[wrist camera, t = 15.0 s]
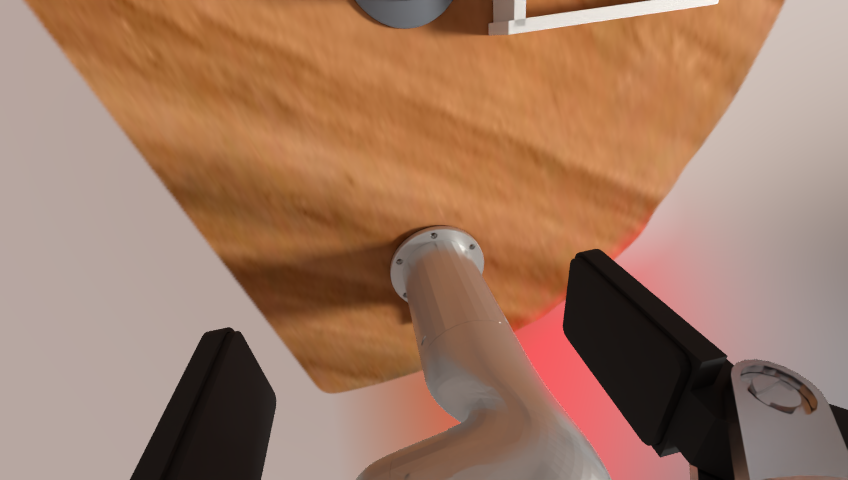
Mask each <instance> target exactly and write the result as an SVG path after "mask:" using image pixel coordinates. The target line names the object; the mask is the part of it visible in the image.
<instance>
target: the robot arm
mask: <svg viewBox="0 0 848 480" xmlns="http://www.w3.org/2000/svg"><path fill="white" fill-rule="evenodd" d="M432 233H434V234H432ZM483 269H484V258H483V253H482V251H481V248H480V246H479V245H478V243H477V242H476V240H475V239H474V238H473V237H472V236H471V235H469V234H468V233H466V232H465V231H463V230H461V229H458V228H455V227H450V226H435V227H429V228H426V229H423V230H420V231H418V232H416V233H415V234H413V235H411V236H410V237H408V238H407V239H406V240H405V241H404V242H403V243H402V244H401V245H400V246H399V247H398V249H397V250H396V252H395V253H394V255H393V258H392V261H391V266H390V276H391V281H392V285H393V287H394V289H395V291H396V292H397V294H398V295H399V296H400V297H401V298H402V299H403V300H405V301H406V302H408V304H409V309H410V313H411V318H412V322H413V327H414V332H415V336H416V341H417V345H418V350H419V354H420V359H421V364H422V368H423V372H424V377H425V381H426V384H427V387H428V389H429V391H430V393H431V395H432V396H433V398H434V399H435V400H436V402H437V403H438V404H439V405H440V406H441V407H442V408H443V409H444V410H445V411H446V412H447V413H448V414H450V415H451V416H452V417H454V418H455V419H457V420H458V421H459V422H461V424H458V425H456V426H454V427H452V428H450V429H448V430H447V431H444V432H442V433H440V434H437V435H435V436H432V437H430V438H428V439H425V440H422V441H420V442H418V443H415V444H413V445H410V446H408V447H405V448H403V449H400V450H398V451H396V452H394V453H392V454H389V455H387V456H385V457H383V458H381V459H379V460H377V461H375V462H374V463H372V464H371V465H369V466H368V467H367V468H365V470H364V471H363V472H362V473H361V474H360V475H359V476H358V477H357V479H356V480H611V477H610V475H609V473H608V471H607V469H606V468H605V466H604V464H603V462H602V460H601V459H600V457H599V455H598V453H597V452H596V451H595V449H594V448H593V447H592V445H591V443H590V442H589V441H588V440H587V438H586V436H585V435H584V434H583V432H582V431H581V430H580V429H579V427H578V426H577V425H576V424H575V422H574V421H573V420H572V419H571V417H570V416H569V415H568V414H567V412H566V411H565V410H564V409H563V407H562V406H561V405H560V404H559V402H558V401H557V400H556V399H555V397H554V396H553V395H552V393H551V392H550V390H549V389H548V387H547V386H546V385H545V383H544V382H543V380H542V379H541V377H540V376H539V374H538V373H537V371H536V370H535V368H534V367H533V365H532V363H531V362H530V360H529V358H528V357H527V355H526V353H525V351H524V350H523V348H522V346H521V344H520V343H519V341H518V339H517V337H516V335H515V334H514V332H513V330H512V328H511V326H510V325H509V323H508V321H507V319H506V317H505V316H504V314H503V312H502V310H501V309H500V307H499V305H498V303H497V302H496V300H495V298H494V296H493V294H492V293H491V291H490V289H489V287H488V285H487V284H486V282H485V280H484V278H483V277H482V272H483ZM563 330H564V333H565V335H566V337H567V339H568V340H569V341H570V343H571V344H572V346H573V347H574V348H575V350H576V351H577V353H578V354H579V355H580V357H581V358H582V360H583V361H584V362H585V364H586V365H587V366H588V368H589V369H590V371H591V372H592V373H593V375H594V376H595V377H596V379H597V380H598V381H599V383H600V384H601V386H602V387H603V388H604V390H605V391H606V393H607V394H608V395H609V396H610V398H611V399H612V401H613V402H614V403H615V405H616V406H617V408H618V409H619V410H620V412H621V413H622V415H623V416H624V417H625V419H626V420H627V421H628V423H629V424H630V425H631V427H632V428H633V430H634V431H635V432H636V434H637V435H638V436H639V438H640V439H641V440H642V442H644V443H645V444H646V445H648V446H650V445H651V446H652V447H653V449H654V450H655V451H656V453H657V454H658V455H659V456H660V457H663V456H667V455H671V454H674V453H678V452H681V453H682V455H683V456H684V457H685V458H686V460H687V461H688V462H689V465H690V480H848V410H846V409H844V408H840V407H837V406H834V405H831V404H828V402H827V400H826V399H825V397H824V396H823V394H822V392H821V391H820V390H819V389H817V387H816V386H815V385H813V384H812V383H811V382H810V381H809V380H807V379H806V378H804V377H803V376H801V375H799V374H798V373H796V372H794V371H792V370H790V369H788V368H786V367H784V366H781V365H778V364H775V363H772V362H769V361H762V360H757V359H756V360H755V359H754V360H744V361H741V362H738V363H736V364H735V365H733V364H732V363H730V362H729V361H728V360H727V359H726V358H727V355H726V354H724V353H723V352H722V351H721V350H720V349H719V348H717V347H716V346H715V345H714V344H713V343H711V342H710V341H709V340H708V339H706V338H705V337H704V336H703V335H702V334H701V333H699V332H698V331H697V330H696V329H695V328H693V327H692V326H691V325H690V324H689V323H687V322H686V321H685V320H684V319H683V318H681V317H680V316H679V315H678V314H677V313H675V312H674V311H673V310H672V309H671V308H670V307H668V306H667V305H666V304H665V303H664V302H662V301H661V300H660V299H659V298H658V297H656V296H655V295H654V294H653V293H651V292H650V291H649V290H648V289H647V288H645V287H644V286H643V285H642V284H641V283H640V282H638V281H637V280H636V279H635V278H634V277H632V276H631V275H630V274H629V273H628V272H626V271H625V270H624V269H623V268H622V267H621V266H619V265H618V264H617V263H616V262H615V261H613V260H612V259H611V258H610V257H609V256H607V255H606V254H605V253H604V252H603V251H601V250H599V249H593V250H589V251H584V252H579V253H577V254H576V256H575V259H572V260H571V263H570V270H569V278H568V286H567V295H566V304H565V311H564V320H563ZM275 409H276V396H275V393H274V391H273V389H272V387H271V385H270V384H269V382H268V380H267V378H266V377H265V375H264V373H263V371H262V369H261V367H260V366H259V364H258V362H257V360H256V358H255V357H254V355H253V353H252V351H251V349H250V348H249V346H248V344H247V342H246V340H245V339H244V337H243V335H242V334H241V332H239V331H234V330H233V329H232V328H230V327H228V328H223V329H218V330H214V331H209V332H206V333H204V335H203V336H202V338H201V340H200V342H199V344H198V346H197V348H196V350H195V352H194V354H193V356H192V358H191V360H190V362H189V364H188V366H187V368H186V370H185V372H184V374H183V375H182V377H181V379H180V381H179V383H178V386H177V387H176V389H175V392H174V393H173V395H172V398H171V399H170V402H169V403H168V405H167V407H166V409H165V411H164V413H163V415H162V417H161V419H160V421H159V423H158V425H157V427H156V429H155V431H154V433H153V435H152V437H151V439H150V441H149V443H148V445H147V447H146V449H145V451H144V453H143V455H142V457H141V459H140V461H139V463H138V465H137V467H136V469H135V471H134V473H133V475H132V477H131V479H130V480H261V476H262V472H263V466H264V462H265V457H266V453H267V447H268V443H269V438H270V433H271V428H272V423H273V418H274V414H275Z"/></svg>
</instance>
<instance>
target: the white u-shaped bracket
mask: <svg viewBox="0 0 848 480" xmlns="http://www.w3.org/2000/svg"><path fill="white" fill-rule="evenodd" d="M718 1H719V0H649V1H642V2H635V3H628V4H621V5H614V6H607V7H600V8H593V9H586V10H579V11H572V12H565V13H558V14H551V15H544V16H537V17H530V18H526V0H493V23H488V25H489V35H509V34H516V33H523V32H530V31H536V30H543V29H550V28H557V27H564V26H570V25H577V24H584V23H591V22H598V21H604V20H611V19H618V18H625V17H632V16H638V15H645V14H652V13H659V12H666V11H672V10H679V9H686V8H693V7H700V6H706V5H713V4H718Z"/></svg>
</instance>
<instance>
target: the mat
mask: <svg viewBox="0 0 848 480" xmlns="http://www.w3.org/2000/svg"><path fill="white" fill-rule="evenodd" d="M355 1H356V2H357V3H358V4H359V6H360V7H361V8H362V9H363V10H364V11H365V12H366V13H367V14H369V15H370V16H371V17H372V18H374V19H375V20H377V21H379V22H380V23H383V24H385V25H387V26H391V27H395V28H403V29H406V28H415V27H419V26H422V25H425V24H427V23H429V22H431V21H433V20H434V19H436V18H437V17H438V16H440V15H441V14H442V13H443V12H444V11H445V10H446V9H447V7H448V6H449V5H450V3H451V2H452V1H453V0H410V1H400V0H355Z"/></svg>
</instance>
